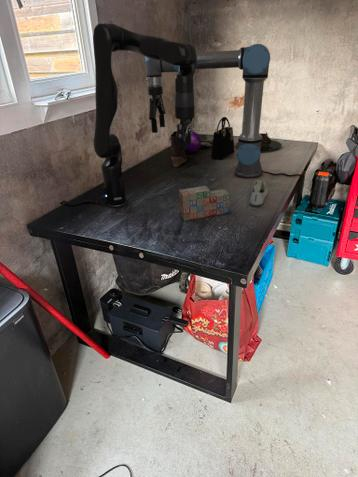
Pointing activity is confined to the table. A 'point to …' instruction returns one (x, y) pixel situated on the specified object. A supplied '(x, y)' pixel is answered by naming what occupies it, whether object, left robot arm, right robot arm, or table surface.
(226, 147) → the handbag
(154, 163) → the table surface
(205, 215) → the stack of blocks
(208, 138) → the pair of gloves
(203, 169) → the table surface
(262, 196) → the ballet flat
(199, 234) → the table surface
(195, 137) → the decorative orb
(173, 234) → the table surface
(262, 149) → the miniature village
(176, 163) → the boot
